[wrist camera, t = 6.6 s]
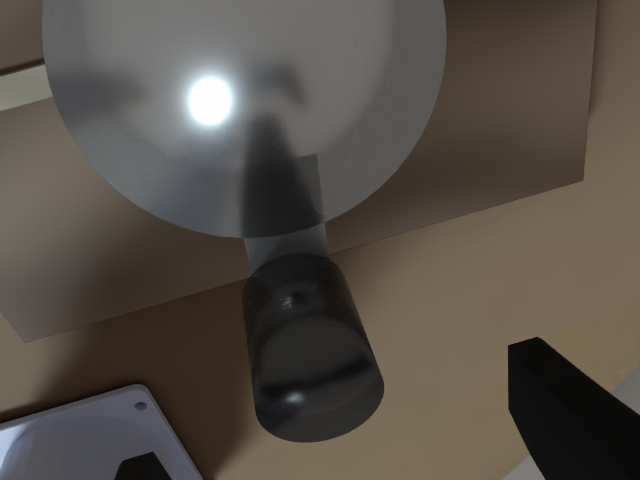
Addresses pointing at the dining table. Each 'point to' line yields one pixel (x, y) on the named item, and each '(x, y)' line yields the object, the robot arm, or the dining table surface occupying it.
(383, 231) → the lock base
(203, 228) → the grey disc with handle
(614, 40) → the dining table surface
